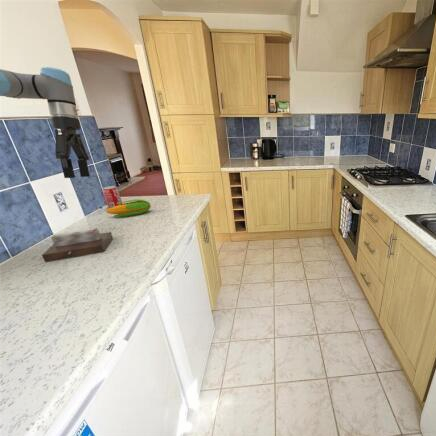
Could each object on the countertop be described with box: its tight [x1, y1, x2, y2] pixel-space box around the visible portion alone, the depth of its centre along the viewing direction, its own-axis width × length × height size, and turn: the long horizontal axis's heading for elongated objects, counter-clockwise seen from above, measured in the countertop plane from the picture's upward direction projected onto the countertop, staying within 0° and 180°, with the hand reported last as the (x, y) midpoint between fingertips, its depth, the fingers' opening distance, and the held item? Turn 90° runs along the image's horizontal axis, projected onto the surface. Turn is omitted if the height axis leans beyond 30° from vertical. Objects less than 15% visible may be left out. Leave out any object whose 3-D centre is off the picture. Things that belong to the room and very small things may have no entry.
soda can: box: [102, 185, 123, 209], centre depth 135 cm, size 7×7×12 cm
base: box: [41, 231, 114, 263], centre depth 94 cm, size 18×18×3 cm
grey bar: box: [50, 228, 101, 247], centre depth 93 cm, size 14×2×4 cm, turn 111°
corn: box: [105, 199, 151, 218], centre depth 126 cm, size 7×8×20 cm
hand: (78, 177), depth 92 cm, fingers open, 13 cm apart
